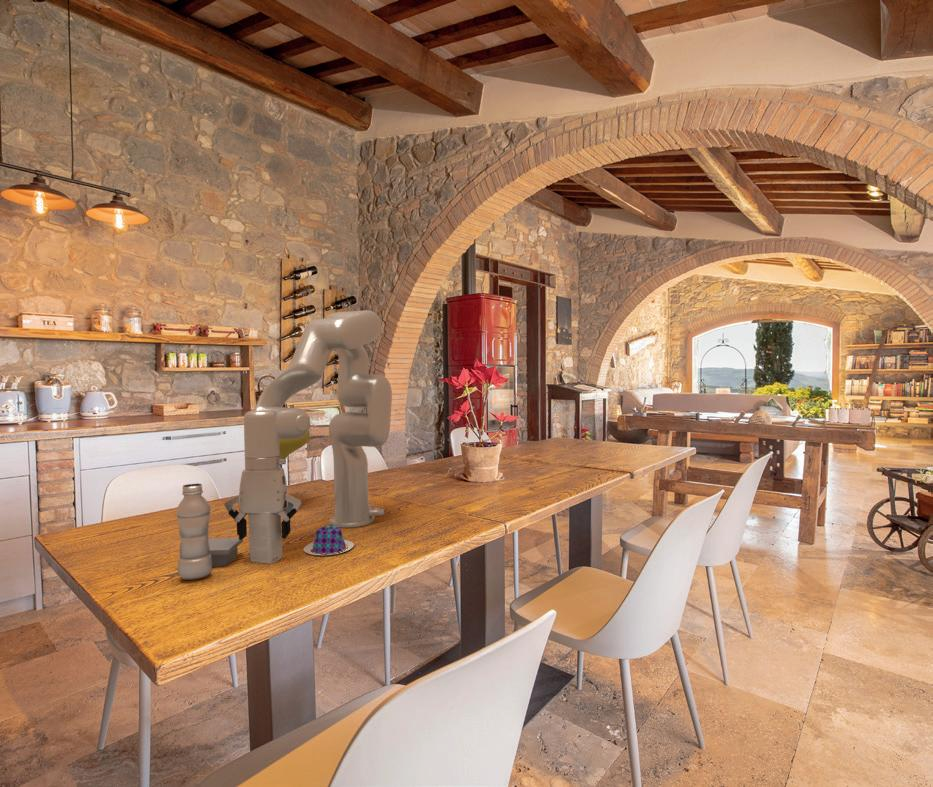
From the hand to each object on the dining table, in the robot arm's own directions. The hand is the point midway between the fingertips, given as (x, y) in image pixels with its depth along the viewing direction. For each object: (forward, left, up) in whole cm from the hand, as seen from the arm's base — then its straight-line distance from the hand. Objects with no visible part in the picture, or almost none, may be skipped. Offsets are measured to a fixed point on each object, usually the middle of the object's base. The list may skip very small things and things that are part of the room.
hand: (264, 537), depth 127 cm
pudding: (-13, -7, -6) cm, 16 cm away
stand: (+12, -1, -6) cm, 13 cm away
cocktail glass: (+10, -48, -6) cm, 50 cm away
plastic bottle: (+12, +9, -6) cm, 16 cm away
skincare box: (0, 0, -6) cm, 6 cm away
